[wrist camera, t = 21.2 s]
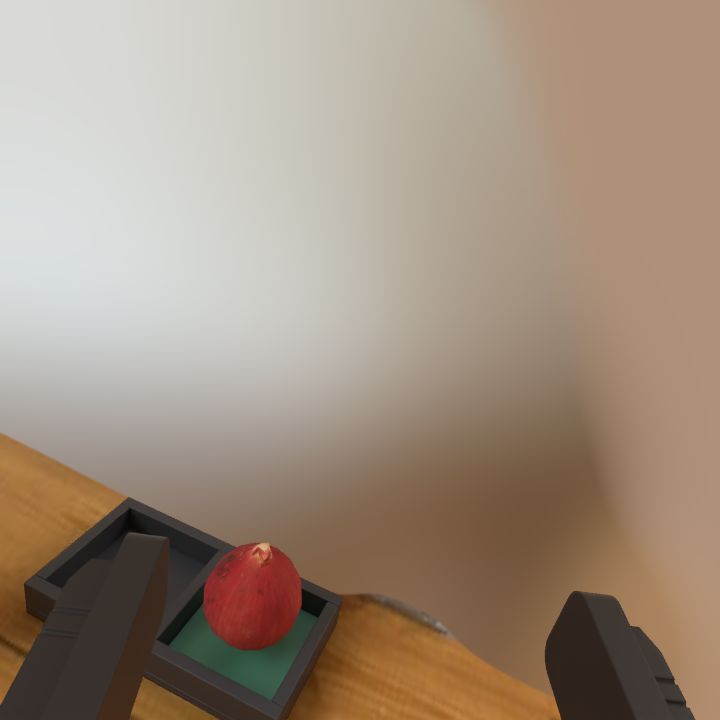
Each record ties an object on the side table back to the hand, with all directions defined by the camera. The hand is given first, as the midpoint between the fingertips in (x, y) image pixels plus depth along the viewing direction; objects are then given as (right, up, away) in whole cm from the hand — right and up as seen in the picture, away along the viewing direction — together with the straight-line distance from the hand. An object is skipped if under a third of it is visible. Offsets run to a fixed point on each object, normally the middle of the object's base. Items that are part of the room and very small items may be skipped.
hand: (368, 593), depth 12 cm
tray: (-11, -12, +27) cm, 32 cm away
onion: (-7, -13, +26) cm, 30 cm away
